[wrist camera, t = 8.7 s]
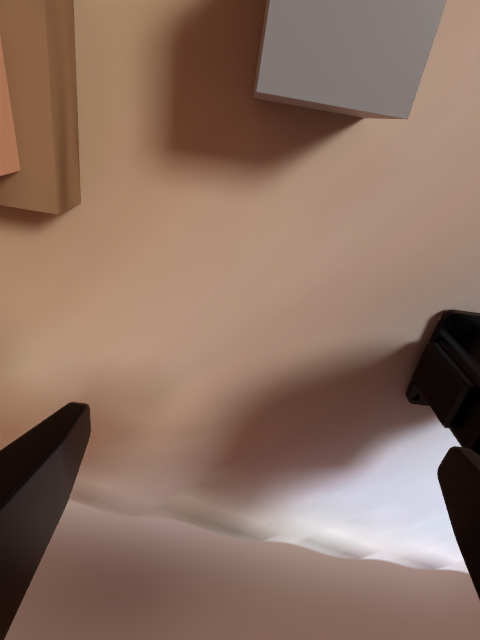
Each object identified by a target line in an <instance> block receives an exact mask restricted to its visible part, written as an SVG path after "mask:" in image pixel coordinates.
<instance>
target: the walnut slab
mask: <svg viewBox="0 0 480 640" xmlns="http://www.w3.org/2000/svg"><path fill="white" fill-rule="evenodd" d="M0 36H1V43H2V49H3V56H4V63H5V69H6V76H7V83H8V89H9V96H10V103H11V110H12V116H13V123H14V130H15V136H16V143H17V150H18V157H19V164H20V171H17V172H13V173H9V174H5V175H2V176H0V205H2V206H8V207H14V208H21V209H27V210H33V211H39V212H45V213H51V214H57V215H59V214H61V213H62V212H64V211H66V210H68V209H70V208H72V207H74V206H76V205H77V204H79V203H81V194H80V167H79V140H78V112H77V85H76V58H75V31H74V3H73V0H0Z"/></svg>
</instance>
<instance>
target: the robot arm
mask: <svg viewBox="0 0 480 640" xmlns="http://www.w3.org/2000/svg"><path fill="white" fill-rule="evenodd" d="M452 317H455V318H454V319H453V320H452V321H449V320H450V319H451V318H452ZM405 395H406V398H407V400H408V401H409V402H410V403H412V404H419V405H427V406H430V407H431V408H432V410H433V411H434V413H435V414H436V416H437V418H438V419H439V421H440V422H441V424H442V425H443V427H445V428H449V429H450V430H451V432H452V433H453V435H454V436H455V438H456V439H457V441H458V442H459V444H460V445H461V447H456V446H454V447H451V448H450V449H449V450H448V452H447V454H446V455H445V457H444V459H443V460H442V462H441V464H440V465H439V467H438V473H437V474H438V480H439V483H440V487H441V490H442V494H443V497H444V501H445V504H446V507H447V511H448V514H449V518H450V521H451V525H452V528H453V531H454V534H455V538H456V540H457V543H458V546H459V549H460V551H461V554H462V556H463V559H464V561H465V564H466V566H467V569H468V571H469V574H470V577H471V579H472V582H473V584H474V587H475V589H476V592H477V594H478V597H479V599H480V313H473V312H466V311H459V310H449V311H446V312H445V313H444V314H443V315H442V317H441V319H440V321H439V323H438V325H437V327H436V329H435V332H434V334H433V336H432V338H431V340H430V342H429V344H428V345H427V346H426V348H425V351H424V353H423V355H422V357H421V359H420V361H419V363H418V365H417V368H416V370H415V372H414V374H413V376H412V381H411V383H410V385H409V387H408V389H407V391H406V394H405ZM414 395H416V396H414ZM413 396H414V397H413ZM90 432H91V423H90V408H89V405H88V404H86V403H78V402H71V403H68V404H67V405H65V406H64V407H62V408H61V409H60V410H58V411H57V412H55V413H54V414H52V415H51V416H49V417H48V418H47V419H45V420H44V421H42V422H41V423H39V424H38V425H36V426H35V427H34V428H32V429H31V430H29V431H28V432H26V433H25V434H23V435H22V436H21V437H19V438H18V439H16V440H15V441H13V442H12V443H11V444H9V445H8V446H6V447H5V448H3V449H2V450H0V640H4V639H5V636H6V634H7V632H8V630H9V627H10V626H11V623H12V621H13V619H14V617H15V615H16V613H17V610H18V608H19V606H20V604H21V602H22V600H23V598H24V595H25V593H26V590H27V589H28V587H29V585H30V582H31V580H32V578H33V576H34V574H35V572H36V570H37V567H38V565H39V563H40V561H41V558H42V557H43V555H44V552H45V550H46V548H47V546H48V544H49V542H50V539H51V537H52V535H53V533H54V531H55V528H56V526H57V524H58V522H59V520H60V518H61V516H62V513H63V511H64V509H65V507H66V504H67V502H68V500H69V497H70V494H71V491H72V488H73V485H74V482H75V479H76V476H77V473H78V471H79V468H80V465H81V462H82V459H83V456H84V453H85V450H86V447H87V444H88V441H89V437H90Z"/></svg>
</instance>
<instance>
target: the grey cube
mask: <svg viewBox="0 0 480 640" xmlns="http://www.w3.org/2000/svg"><path fill="white" fill-rule="evenodd" d="M445 3H446V0H267V1H266V8H265V15H264V21H263V28H262V35H261V42H260V49H259V56H258V62H257V69H256V76H255V83H254V90H253V97H252V98H255V99H260V100H266V101H271V102H277V103H282V104H288V105H294V106H299V107H305V108H310V109H316V110H321V111H327V112H332V113H338V114H344V115H349V116H355V117H360V118H380V119H408V117H409V114H410V111H411V108H412V105H413V102H414V99H415V96H416V93H417V89H418V86H419V83H420V80H421V77H422V74H423V71H424V68H425V65H426V62H427V59H428V56H429V53H430V50H431V46H432V43H433V40H434V37H435V34H436V31H437V28H438V25H439V22H440V19H441V16H442V13H443V10H444V7H445Z"/></svg>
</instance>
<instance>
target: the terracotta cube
mask: <svg viewBox="0 0 480 640" xmlns="http://www.w3.org/2000/svg"><path fill="white" fill-rule="evenodd" d="M17 171H20V164H19V157H18V150H17V143H16V136H15V130H14V123H13V116H12V110H11V103H10V96H9V89H8V83H7V76H6V69H5V63H4V56H3V49H2V43H1V36H0V176H2V175H5V174H9V173H13V172H17Z"/></svg>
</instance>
